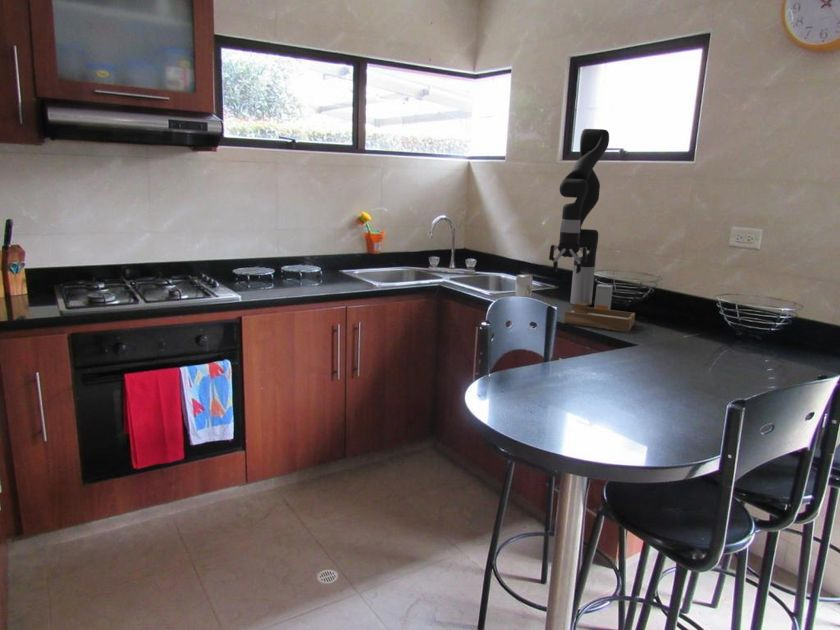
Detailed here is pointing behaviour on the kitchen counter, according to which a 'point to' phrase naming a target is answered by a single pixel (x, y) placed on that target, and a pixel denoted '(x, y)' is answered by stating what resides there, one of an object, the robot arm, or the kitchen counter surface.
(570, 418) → the kitchen counter surface
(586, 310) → the block
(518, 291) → the blue flashlight
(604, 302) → the skincare box
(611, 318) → the trap tray
